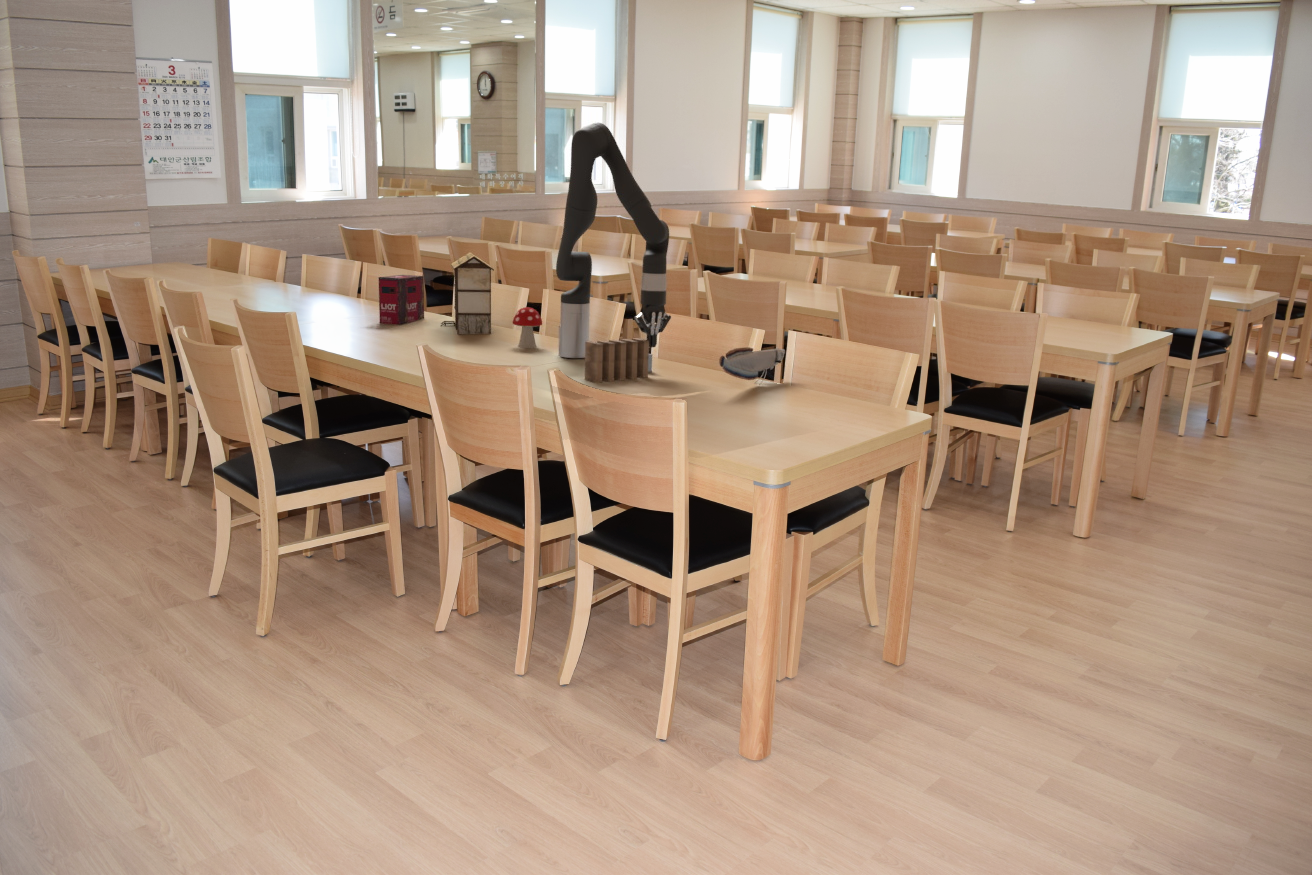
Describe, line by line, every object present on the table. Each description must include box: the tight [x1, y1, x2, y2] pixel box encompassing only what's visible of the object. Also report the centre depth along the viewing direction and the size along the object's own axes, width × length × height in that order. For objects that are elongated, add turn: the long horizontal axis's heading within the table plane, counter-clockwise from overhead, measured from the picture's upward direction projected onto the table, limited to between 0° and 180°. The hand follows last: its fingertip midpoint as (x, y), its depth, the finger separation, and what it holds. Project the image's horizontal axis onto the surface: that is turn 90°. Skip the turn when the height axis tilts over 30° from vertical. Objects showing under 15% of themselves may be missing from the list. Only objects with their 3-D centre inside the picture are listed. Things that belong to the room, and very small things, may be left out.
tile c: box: [608, 339, 626, 381], centre depth 293 cm, size 6×2×11 cm, turn 39°
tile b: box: [619, 338, 638, 380], centre depth 296 cm, size 6×2×11 cm, turn 39°
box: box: [378, 274, 425, 326], centre depth 379 cm, size 16×9×20 cm, turn 162°
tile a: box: [631, 337, 650, 378], centre depth 298 cm, size 6×2×11 cm, turn 39°
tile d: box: [596, 340, 615, 382], centre depth 290 cm, size 6×2×11 cm, turn 39°
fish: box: [718, 347, 786, 386], centre depth 288 cm, size 34×7×12 cm, turn 137°
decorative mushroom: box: [512, 306, 543, 349], centre depth 336 cm, size 10×9×15 cm
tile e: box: [584, 340, 603, 384], centre depth 288 cm, size 6×2×11 cm, turn 39°
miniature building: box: [440, 252, 495, 335], centre depth 365 cm, size 25×19×30 cm
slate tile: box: [648, 353, 653, 373], centre depth 308 cm, size 6×2×11 cm
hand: (651, 347), depth 300 cm, fingers closed
